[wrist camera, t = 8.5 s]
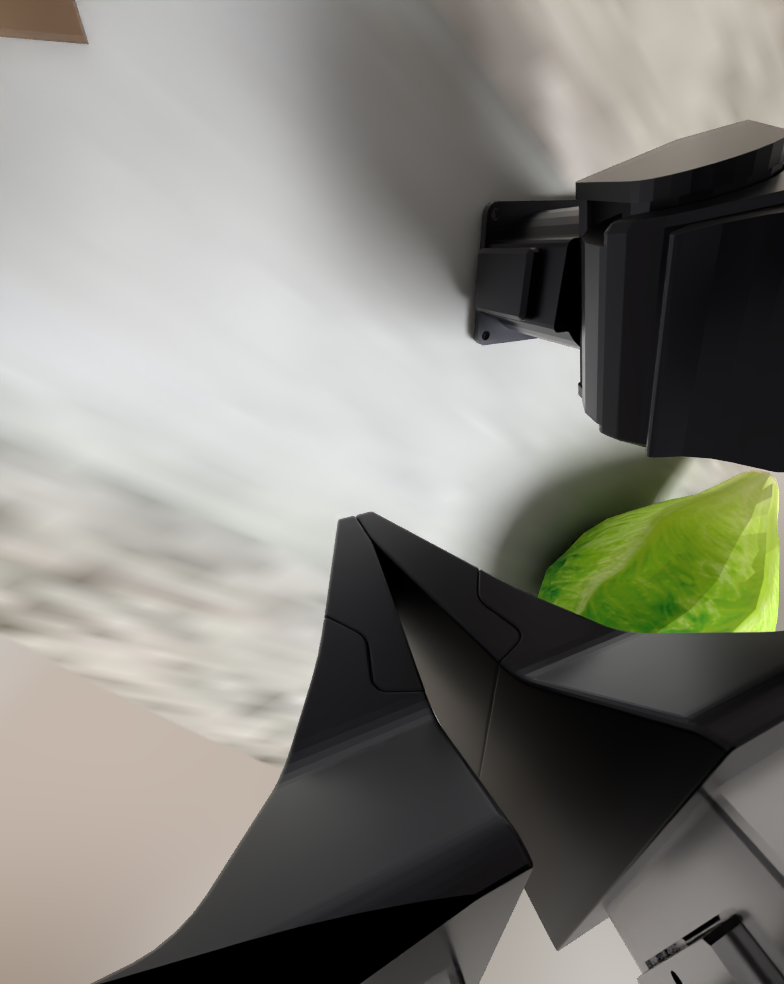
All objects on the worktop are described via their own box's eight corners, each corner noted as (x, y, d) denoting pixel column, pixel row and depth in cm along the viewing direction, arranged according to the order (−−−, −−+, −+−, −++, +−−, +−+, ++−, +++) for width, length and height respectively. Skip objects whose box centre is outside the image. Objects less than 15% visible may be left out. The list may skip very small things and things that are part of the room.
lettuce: (651, 389, 33) (655, 485, 44) (484, 600, 31) (531, 646, 41) (920, 446, 23) (838, 553, 33) (697, 770, 20) (686, 773, 31)
